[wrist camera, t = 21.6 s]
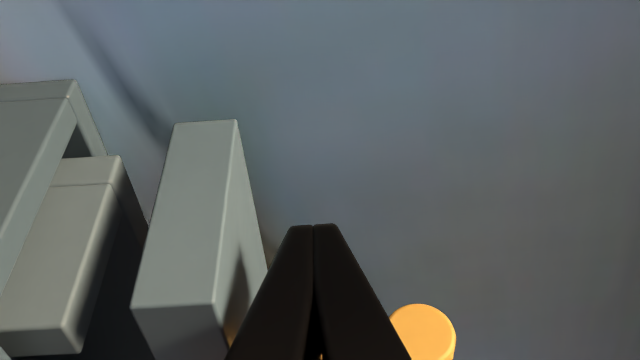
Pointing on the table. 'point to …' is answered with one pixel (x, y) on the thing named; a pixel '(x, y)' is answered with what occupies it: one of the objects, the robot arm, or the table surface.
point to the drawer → (155, 262)
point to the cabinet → (36, 155)
